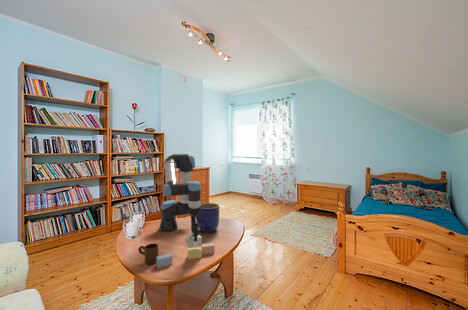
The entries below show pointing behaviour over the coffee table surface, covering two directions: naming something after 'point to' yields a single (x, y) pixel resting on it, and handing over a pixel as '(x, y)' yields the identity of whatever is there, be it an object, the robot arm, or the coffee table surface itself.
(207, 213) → the planter
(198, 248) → the mustard brick
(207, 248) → the terracotta brick
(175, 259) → the coffee table surface
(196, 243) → the robot arm
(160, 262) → the slate brick
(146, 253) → the mug
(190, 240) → the sage brick
